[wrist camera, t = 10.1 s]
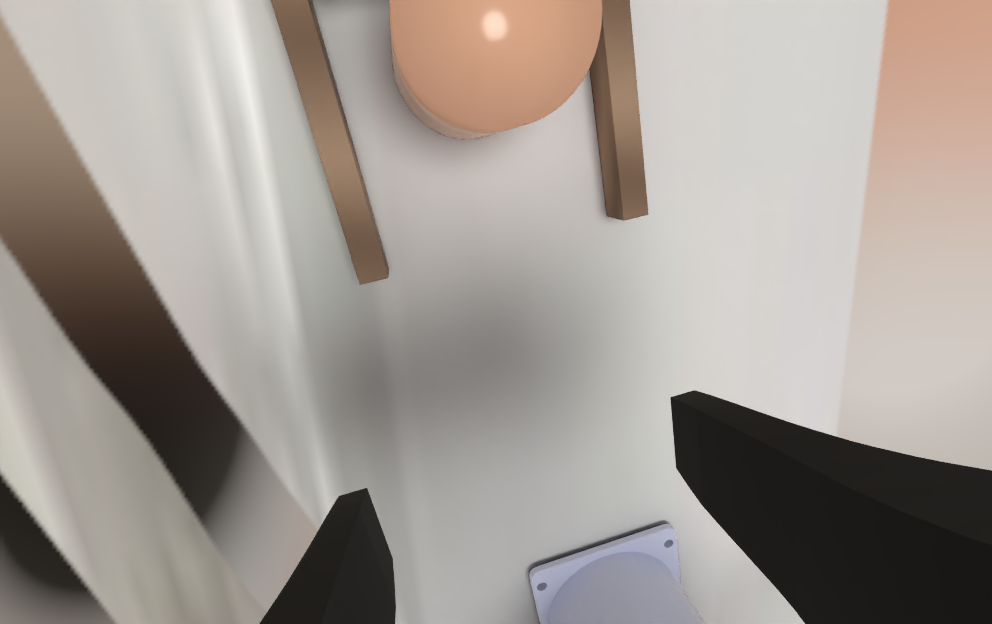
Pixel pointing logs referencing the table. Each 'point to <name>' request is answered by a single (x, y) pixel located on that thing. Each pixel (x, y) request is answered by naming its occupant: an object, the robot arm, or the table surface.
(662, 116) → the table surface
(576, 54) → the terracotta jar
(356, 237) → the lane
